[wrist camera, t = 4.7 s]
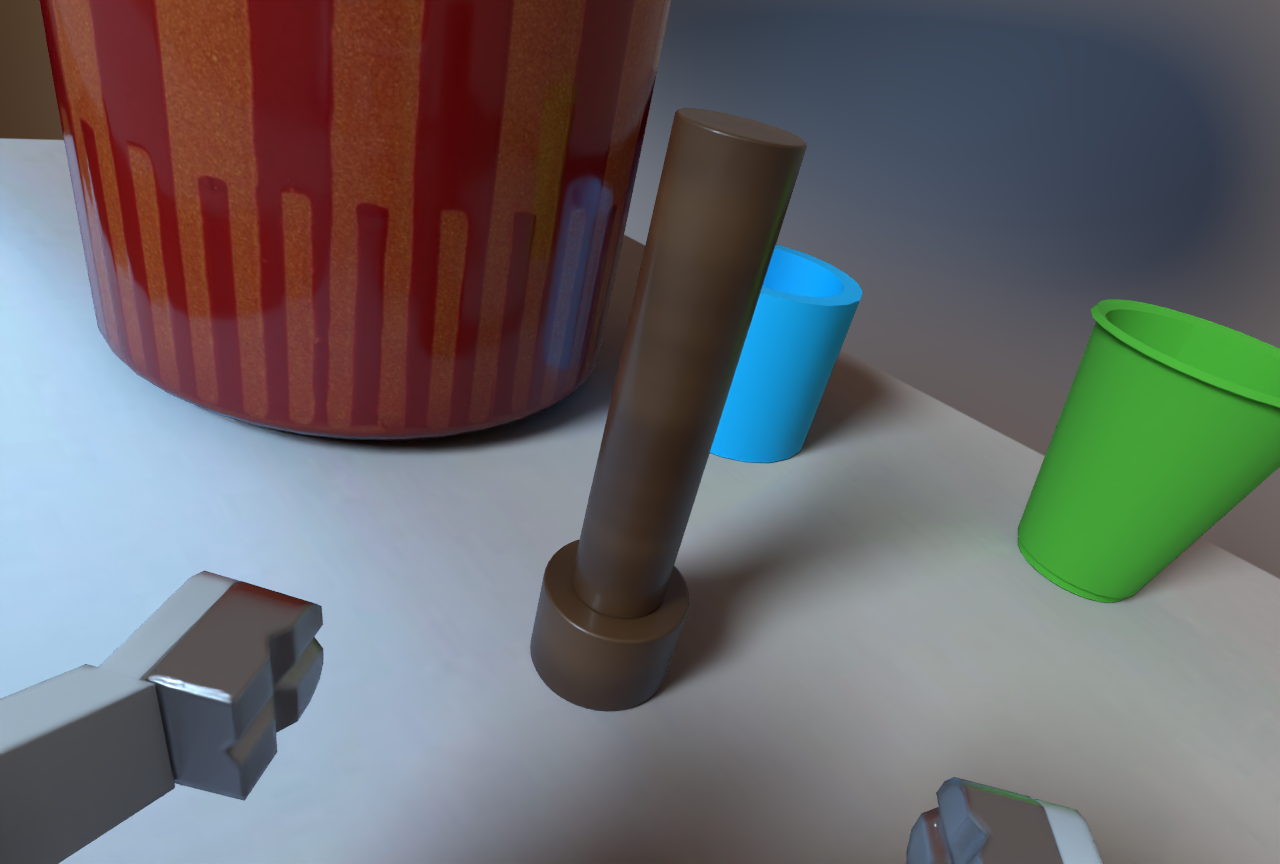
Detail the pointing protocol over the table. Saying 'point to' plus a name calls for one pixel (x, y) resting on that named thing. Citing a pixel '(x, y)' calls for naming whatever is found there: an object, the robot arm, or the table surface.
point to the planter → (355, 199)
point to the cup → (1150, 447)
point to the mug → (786, 358)
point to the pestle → (665, 410)
